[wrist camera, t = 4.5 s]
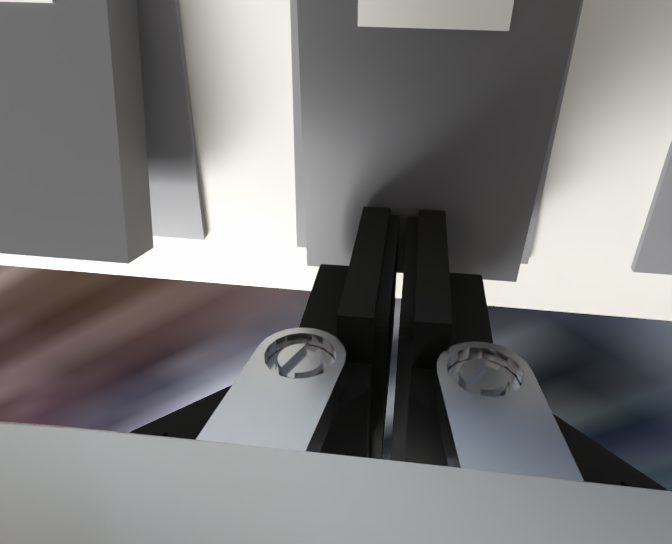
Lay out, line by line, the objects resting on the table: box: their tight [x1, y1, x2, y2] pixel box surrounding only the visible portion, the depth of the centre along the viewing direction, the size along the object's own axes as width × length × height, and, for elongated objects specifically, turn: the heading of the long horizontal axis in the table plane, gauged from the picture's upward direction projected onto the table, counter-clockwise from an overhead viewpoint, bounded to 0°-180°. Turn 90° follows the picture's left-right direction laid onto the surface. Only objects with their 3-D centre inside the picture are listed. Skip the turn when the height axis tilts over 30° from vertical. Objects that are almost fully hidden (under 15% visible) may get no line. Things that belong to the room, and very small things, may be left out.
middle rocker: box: [297, 0, 581, 282], centre depth 11 cm, size 4×6×1 cm
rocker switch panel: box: [0, 0, 672, 321], centre depth 13 cm, size 32×10×4 cm, turn 89°
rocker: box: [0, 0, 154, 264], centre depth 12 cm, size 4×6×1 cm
